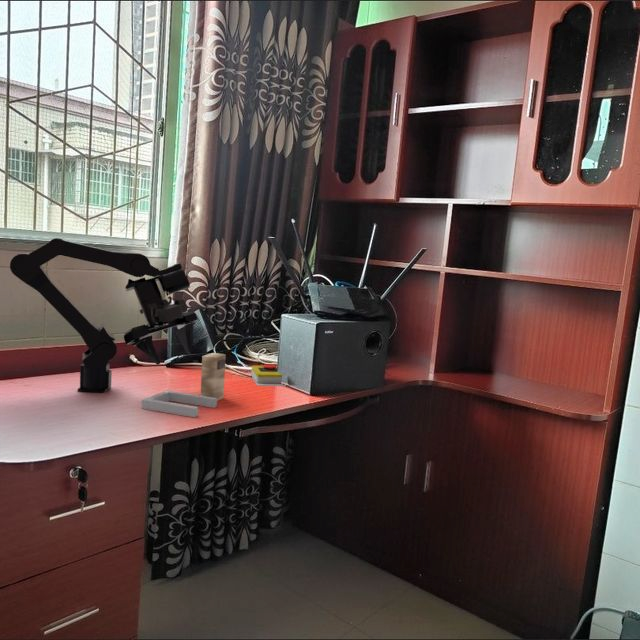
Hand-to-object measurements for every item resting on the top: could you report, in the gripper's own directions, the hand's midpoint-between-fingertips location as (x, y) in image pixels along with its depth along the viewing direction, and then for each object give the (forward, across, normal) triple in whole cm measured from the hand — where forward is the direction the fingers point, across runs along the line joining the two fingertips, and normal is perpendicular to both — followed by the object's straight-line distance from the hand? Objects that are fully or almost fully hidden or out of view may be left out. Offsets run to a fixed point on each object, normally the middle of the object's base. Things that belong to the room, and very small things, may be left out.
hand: (174, 358), depth 153 cm
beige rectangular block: (+13, +2, -5) cm, 14 cm away
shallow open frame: (+12, -8, -7) cm, 16 cm away
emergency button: (+15, +29, +5) cm, 33 cm away
